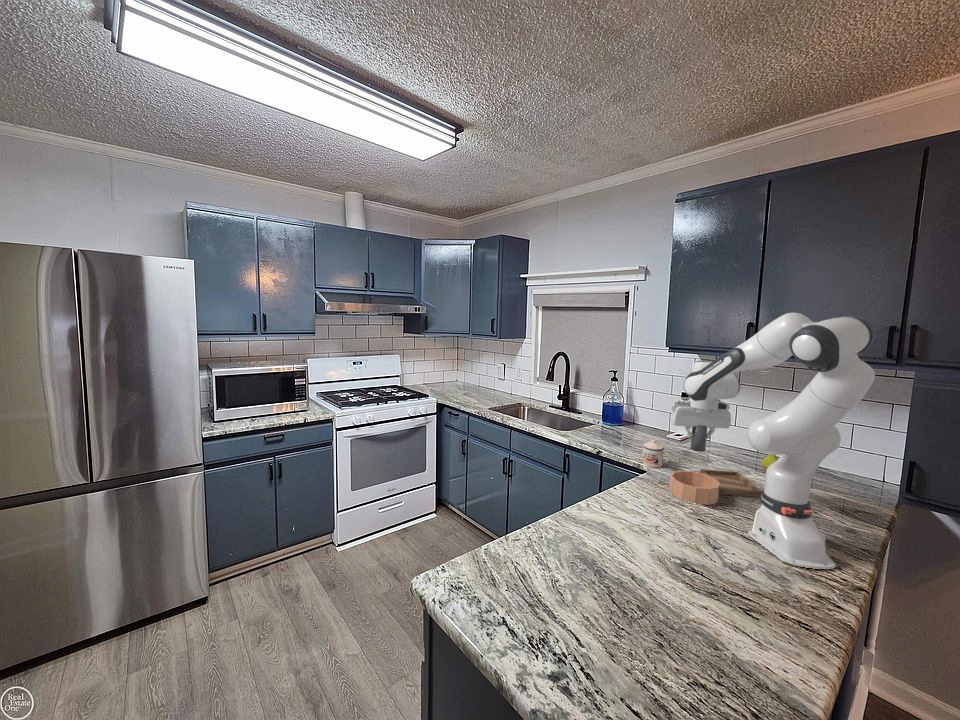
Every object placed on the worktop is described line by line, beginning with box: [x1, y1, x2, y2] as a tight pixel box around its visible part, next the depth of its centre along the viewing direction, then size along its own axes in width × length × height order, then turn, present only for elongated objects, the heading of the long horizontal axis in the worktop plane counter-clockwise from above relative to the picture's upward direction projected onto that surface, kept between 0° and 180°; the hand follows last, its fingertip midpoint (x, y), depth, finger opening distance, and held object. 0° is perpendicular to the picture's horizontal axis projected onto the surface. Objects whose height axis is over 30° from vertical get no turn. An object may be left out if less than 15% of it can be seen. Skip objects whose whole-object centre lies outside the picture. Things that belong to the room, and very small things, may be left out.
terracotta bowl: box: [668, 470, 720, 505], centre depth 156 cm, size 17×17×6 cm
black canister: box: [690, 425, 708, 453], centre depth 153 cm, size 5×5×10 cm
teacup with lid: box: [642, 439, 671, 468], centre depth 186 cm, size 12×9×12 cm
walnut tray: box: [699, 469, 763, 499], centre depth 165 cm, size 20×15×2 cm
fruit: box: [761, 454, 779, 471], centre depth 180 cm, size 7×7×12 cm
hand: (698, 437), depth 153 cm, fingers closed on black canister, 5 cm apart
